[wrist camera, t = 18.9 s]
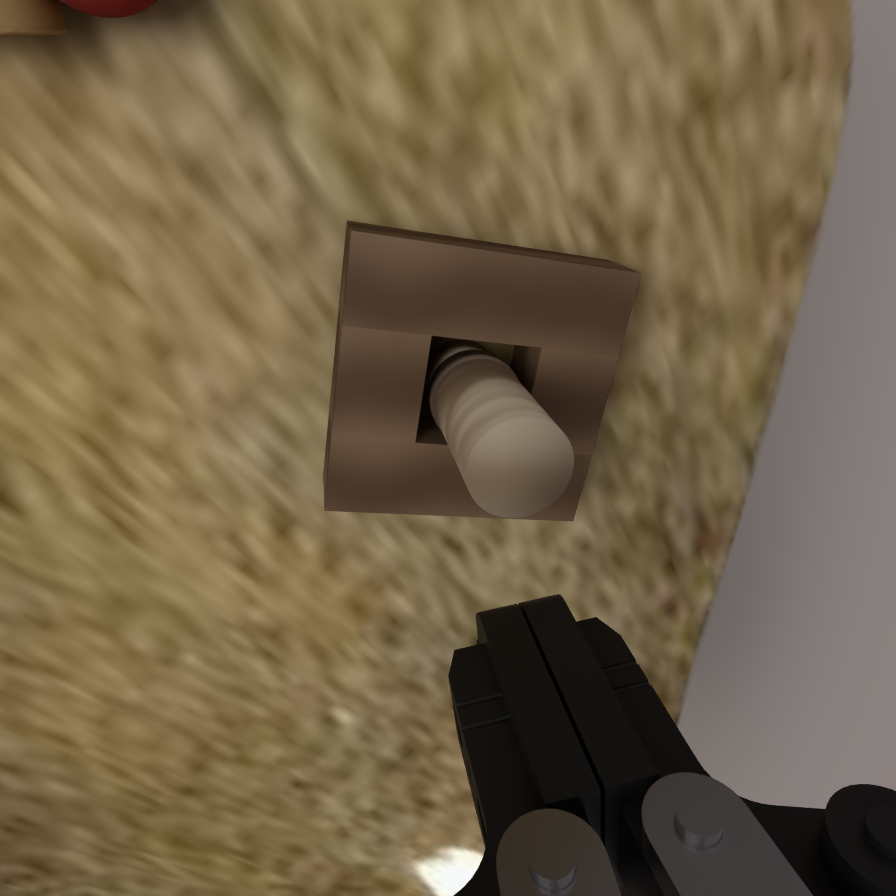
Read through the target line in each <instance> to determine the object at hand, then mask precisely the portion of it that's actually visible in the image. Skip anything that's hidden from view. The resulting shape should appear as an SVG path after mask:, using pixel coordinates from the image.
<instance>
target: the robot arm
mask: <svg viewBox="0 0 896 896" xmlns="http://www.w3.org/2000/svg"><path fill="white" fill-rule="evenodd" d="M476 623H477V632H478V640H479V645H474V646H470V647H466V648H461V649H457V650H454V654H453V659H452V663H451V667H450V671H449V676H448V677H449V683H450V690H451V696H452V703H453V709H454V716H455V722H456V729H457V735H458V740H459V744H460V748H461V752H462V756H463V760H464V764H465V767H466V772H467V776H468V780H469V784H470V788H471V792H472V796H473V801H474V805H475V809H476V813H477V817H478V821H479V825H480V829H481V833H482V837H483V841H484V845H485V852H484V855H483V859H482V861H481V863H480V865H479V867H478V869H477V871H476V872H475V874H474V876H473V877H472V878H471V880H470V881H469V882H468V883H467V884H466V885H465V886H464V887H463V888H462V889H461V890H460V891H459V892H457V893H456V894H455V895H454V896H621V893H620V890H619V888H620V887H623V886H624V887H625V889H626V892H627V894H628V896H896V791H894V790H892V789H888V788H885V787H881V786H876V785H870V784H857V785H850V786H847V787H844V788H842V789H840V790H839V791H837V792H836V793H834V795H833V796H832V797H831V798H830V800H829V802H828V804H827V806H826V809H817V808H816V809H815V808H803V807H789V806H776V805H767V804H761V803H757V802H753V801H750V800H748V799H745V798H742V797H740V796H738V795H737V794H736V793H735V792H734V791H732V790H731V789H730V788H728V787H727V786H725V785H724V784H723V783H721V782H719V781H717V780H715V779H713V778H712V777H711V776H710V775H709V774H708V773H707V772H706V771H705V770H704V769H703V767H702V766H701V764H700V763H699V762H698V760H697V758H696V757H695V755H694V754H693V752H692V750H691V749H690V747H689V746H688V744H687V743H686V741H685V739H684V737H683V736H682V734H681V733H680V731H679V729H678V728H677V726H676V724H675V723H674V721H673V720H672V718H671V716H670V715H669V713H668V711H667V710H666V708H665V707H664V705H663V703H662V702H661V700H660V698H659V697H658V695H657V694H656V692H655V690H654V689H653V687H652V686H651V685H649V683H648V679H647V677H646V676H645V674H644V673H643V671H642V669H641V668H640V666H639V664H638V665H637V664H636V660H635V658H634V656H633V655H632V653H631V652H630V650H629V648H628V647H627V645H626V643H625V642H624V640H623V639H622V637H621V635H619V634H618V633H617V632H615V631H614V630H613V629H611V628H610V627H609V626H607V625H606V624H605V623H603V622H602V621H601V620H599V619H598V618H597V617H595V618H590V619H586V620H582V621H577V622H576V621H575V619H574V617H573V615H572V613H571V611H570V610H569V608H568V606H567V604H566V602H565V601H564V599H563V597H562V596H561V595H559V594H557V595H553V596H548V597H544V598H539V599H535V600H530V601H526V602H521V603H519V604H518V605H517V604H513V605H509V606H505V607H500V608H496V609H491V610H487V611H482V612H478V613H476Z"/></svg>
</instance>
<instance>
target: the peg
mask: <svg viewBox="0 0 896 896" xmlns="http://www.w3.org/2000/svg"><path fill="white" fill-rule="evenodd" d="M425 380H426V384H427V386H428V388H429V390H428V397H429V405H430V410H431V413H432V415H433V418H434V420H435V422H436V424H437V425H438V427H439V428H440V430H441V431H442V433H443V435H444V437H445V439H446V442H447V444H448V446H449V448H450V450H451V453H452V455H453V457H454V459H455V462H456V464H457V466H458V468H459V470H460V473H461V475H462V477H463V479H464V482H465V484H466V486H467V488H468V490H469V493H470V495H471V497H472V498H473V500H474V501H475V502H476V503H477V504H478V505H479V506H480V507H481V508H482V509H484V510H485V511H487V512H488V513H490V514H493V515H495V516H499V517H504V518H520V517H526V516H530V515H532V514H535V513H538V512H540V511H542V510H543V509H545V508H547V507H548V506H550V505H551V504H552V503H553V502H555V501H556V500H557V499H558V498H559V497H560V495H561V494H562V493H563V492H564V490H565V489H566V487H567V485H568V483H569V481H570V479H571V476H572V473H573V468H574V453H573V449H572V446H571V443H570V441H569V439H568V438H567V436H566V435H565V434H564V433H563V431H562V430H561V429H560V428H559V427H558V426H557V424H556V423H555V422H554V421H553V420H552V419H551V418H550V416H549V415H548V414H547V413H546V412H545V411H544V409H543V408H542V407H541V406H540V405H539V404H538V403H537V401H536V400H535V399H534V398H533V397H532V396H531V394H530V393H529V392H528V391H527V390H526V389H525V388H524V386H523V385H522V384H521V383H520V382H519V380H518V378H517V376H516V374H515V373H514V372H513V371H512V369H511V368H510V367H509V366H508V365H507V364H506V363H505V362H504V361H503V360H501V359H500V358H498V357H496V356H495V355H493V354H491V353H489V352H486V351H485V350H484V349H483V348H482V347H481V346H480V345H479V344H477V343H475V342H473V341H470V340H466V339H455V340H451V341H448V342H445V343H443V344H442V345H440V346H439V347H438V348H436V349H435V350H434V352H433V353H432V354H431V356H430V357H429V359H428V363H427V369H426V376H425Z"/></svg>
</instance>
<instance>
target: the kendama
mask: <svg viewBox="0 0 896 896" xmlns="http://www.w3.org/2000/svg"><path fill="white" fill-rule="evenodd" d="M60 1H61V2H62V3H64V4H66V5H68V6H69V7H71V8H74V9H76V10H78V11H80V12H83V13H86V14H90V15H94V16H100V17H125V16H129V15H133V14H136V13H139V12H141V11H143V10H145V9H147V8H148V7H150V6H151V5H153V4H154V3H155V2H156V1H157V0H0V35H60V34H64V33H65V32H66V31H67V29H66V25H65V20H64V16H63V12H62V7H61V3H60Z"/></svg>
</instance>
